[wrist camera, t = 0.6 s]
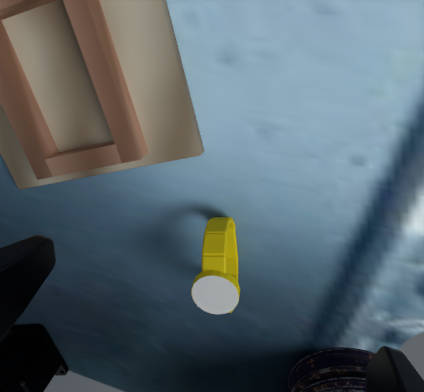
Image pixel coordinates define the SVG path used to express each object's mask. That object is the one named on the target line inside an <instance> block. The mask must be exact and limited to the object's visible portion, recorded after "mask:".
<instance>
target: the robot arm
mask: <svg viewBox="0 0 424 392" xmlns="http://www.w3.org/2000/svg"><path fill="white" fill-rule="evenodd" d="M55 261H56V258H55V251H54V244H53V241H52V240H51V239H50V238H47V237H44V236H40V235H36V236H33V237H30V238H27V239H24V240H21V241H19V242H16V243H13V244H10V245H8V246H5V247H2V248H0V392H43V391H44V390H45V388H46V387H47V386H48V384H49V383H50V381H51V380H52V378H53V377H54V375H66V374H67V372H68V370H69V369H68V367H67V365H66V364H65V362H64V360H63V359H62V357H61V355H60V353H59V352H58V350H57V348H56V347H55V345H54V343H53V341H52V340H51V338H50V336H49V335H48V333H47V331H46V329H45V328H44V327H43V326H40V325H37V326H20V327H12V326H13V324H14V323H15V322H16V321H17V319H18V318H19V317H20V316H21V314H22V313H23V312H24V310H25V309H26V307H27V306H28V304H29V303H30V301H31V300H32V299H33V297H34V296H35V294H36V293H37V291H38V290H39V288H40V287H41V285H42V284H43V282H44V281H45V279H46V278H47V277H48V275H49V274H50V272H51V271H52V269H53V267H54V265H55ZM366 392H424V380H423V379H422V377H421V376H420V375H419V374H418V372H417V371H416V369H415V368H414V367H413V365H412V364H411V363H410V361H409V360H408V359H407V357H406V356H405V355H404V354H403V353H402V352H401V351H399V350H396V349H393V348H390V347H387V346H383V347H381V348H380V349H379V350H378V352H377V353H376V354H375V356H374V357H373V358H372V359H371V361H370V362H369V363H368V366H367V369H366Z"/></svg>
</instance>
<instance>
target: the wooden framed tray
mask: <svg viewBox="0 0 424 392" xmlns="http://www.w3.org/2000/svg"><path fill="white" fill-rule="evenodd" d="M203 152H204V148H203V144H202V140H201V136H200V132H199V129H198V125H197V121H196V117H195V113H194V109H193V105H192V101H191V97H190V93H189V89H188V85H187V81H186V77H185V73H184V70H183V66H182V62H181V58H180V54H179V50H178V46H177V42H176V38H175V34H174V30H173V26H172V22H171V18H170V14H169V11H168V7H167V3H166V0H0V154H1V156H2V158H3V160H4V162H5V163H6V165H7V167H8V169H9V171H10V173H11V175H12V177H13V179H14V181H15V183H16V185H17V187H18V189H19V190H21V189H26V188H31V187H36V186H42V185H47V184H52V183H57V182H63V181H68V180H73V179H78V178H84V177H89V176H94V175H99V174H105V173H110V172H115V171H120V170H126V169H131V168H136V167H141V166H147V165H152V164H157V163H162V162H168V161H173V160H178V159H183V158H189V157H194V156H199V155H202V153H203Z"/></svg>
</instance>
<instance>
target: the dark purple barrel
mask: <svg viewBox="0 0 424 392" xmlns="http://www.w3.org/2000/svg"><path fill="white" fill-rule="evenodd" d="M374 356H375V353H372V352H369V351H366V350H361V349H355V348H332V349H325V350H321V351H317V352H315V353H312V354H310V355H308V356H306V357H304V358H303V359H301V360H300V361H299V362H298V363H297V364H296V365H295V366H294V367H293V368H292V370H291V372H290V374H289V378H288V391H289V392H366V369H367V366H368V363H369V362H370V361H371V359H372V358H373V357H374Z"/></svg>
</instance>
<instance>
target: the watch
mask: <svg viewBox="0 0 424 392" xmlns="http://www.w3.org/2000/svg"><path fill="white" fill-rule="evenodd" d="M204 234H205V235H204V239H203V249H202V255H203V256H202V272H201V273H199V274H198V275H197V276H196V278H195V280H194V282H193V285H192V288H191V295H192V298H193V301H194V302H195V303H196V305H197V306H198V307H200V308H201V309H202V310H204V311H206V312H208V313H212V314H225V313H231V312H232V311H233V309H234V308H235V307H236V305H237V304H238V302H239V295H240V288H239V284H238V252H237V242H236V232H235V223H234V221H233V218H231V217H213V218H211V219H209V221H208V223H207V226H206V229H205V232H204Z"/></svg>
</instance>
